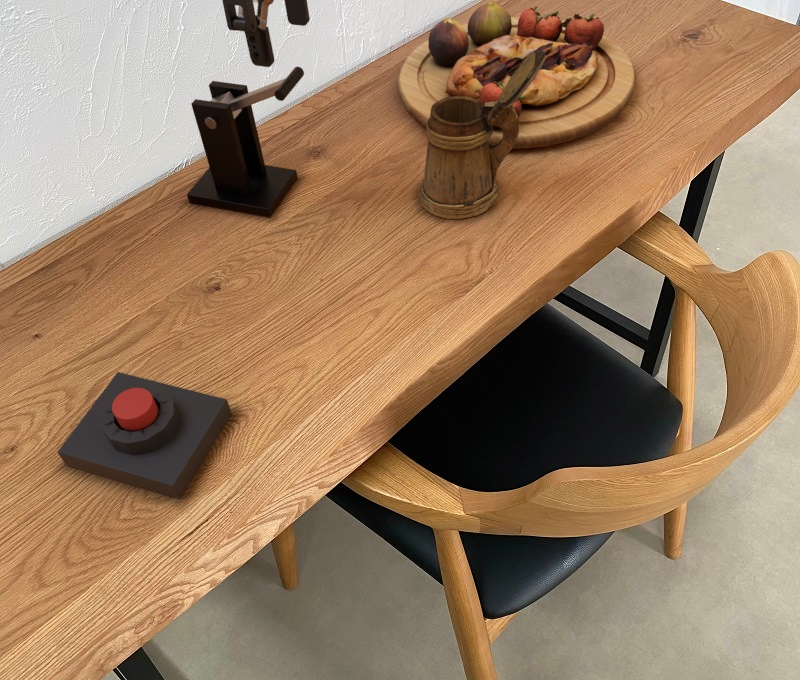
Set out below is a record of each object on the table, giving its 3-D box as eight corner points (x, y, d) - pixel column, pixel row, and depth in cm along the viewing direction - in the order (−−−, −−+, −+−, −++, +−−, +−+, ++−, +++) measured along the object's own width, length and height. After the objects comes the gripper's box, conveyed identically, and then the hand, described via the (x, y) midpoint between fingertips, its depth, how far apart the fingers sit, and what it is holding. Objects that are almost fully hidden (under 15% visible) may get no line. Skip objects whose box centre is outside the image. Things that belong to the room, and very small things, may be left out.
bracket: (298, 178, 99) (279, 81, 89) (270, 217, 94) (247, 120, 84) (220, 165, 102) (193, 70, 92) (189, 203, 97) (158, 107, 87)
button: (110, 425, 71) (103, 413, 69) (132, 395, 73) (125, 383, 71) (145, 435, 70) (138, 423, 68) (165, 404, 72) (160, 392, 70)
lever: (309, 80, 86) (297, 59, 84) (289, 104, 83) (277, 83, 81) (230, 110, 92) (218, 91, 91) (210, 133, 89) (197, 114, 88)
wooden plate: (579, 180, 95) (587, 117, 89) (354, 119, 106) (347, 60, 100) (666, 55, 112) (678, -5, 105) (463, 15, 123) (463, -42, 117)
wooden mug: (531, 225, 90) (543, 75, 76) (414, 216, 93) (405, 69, 79) (538, 178, 96) (550, 30, 82) (427, 171, 98) (421, 26, 84)
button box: (66, 466, 73) (48, 440, 70) (125, 386, 79) (111, 359, 75) (180, 499, 70) (166, 474, 67) (232, 413, 75) (222, 386, 72)
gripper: (246, -171, 73) (278, 8, 86) (167, -114, 65) (216, 75, 77) (320, -168, 71) (342, 14, 84) (249, -109, 63) (286, 84, 75)
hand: (282, 43), depth 80 cm, fingers open, 8 cm apart
